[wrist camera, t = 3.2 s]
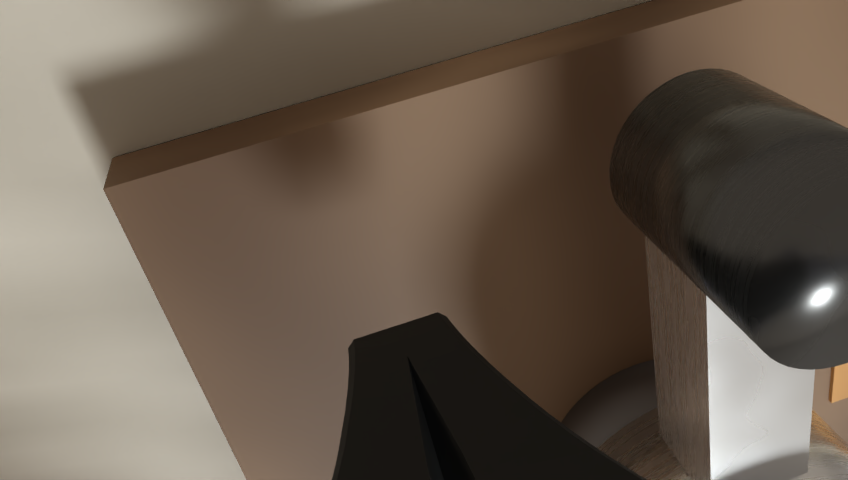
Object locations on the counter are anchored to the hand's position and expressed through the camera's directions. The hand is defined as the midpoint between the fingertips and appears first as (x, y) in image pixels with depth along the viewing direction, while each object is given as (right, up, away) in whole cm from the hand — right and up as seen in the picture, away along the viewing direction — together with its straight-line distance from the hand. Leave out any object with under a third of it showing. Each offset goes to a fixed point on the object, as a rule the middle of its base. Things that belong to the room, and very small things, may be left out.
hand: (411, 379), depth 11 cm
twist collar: (+5, -1, +3) cm, 5 cm away
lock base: (+5, -2, +7) cm, 8 cm away
